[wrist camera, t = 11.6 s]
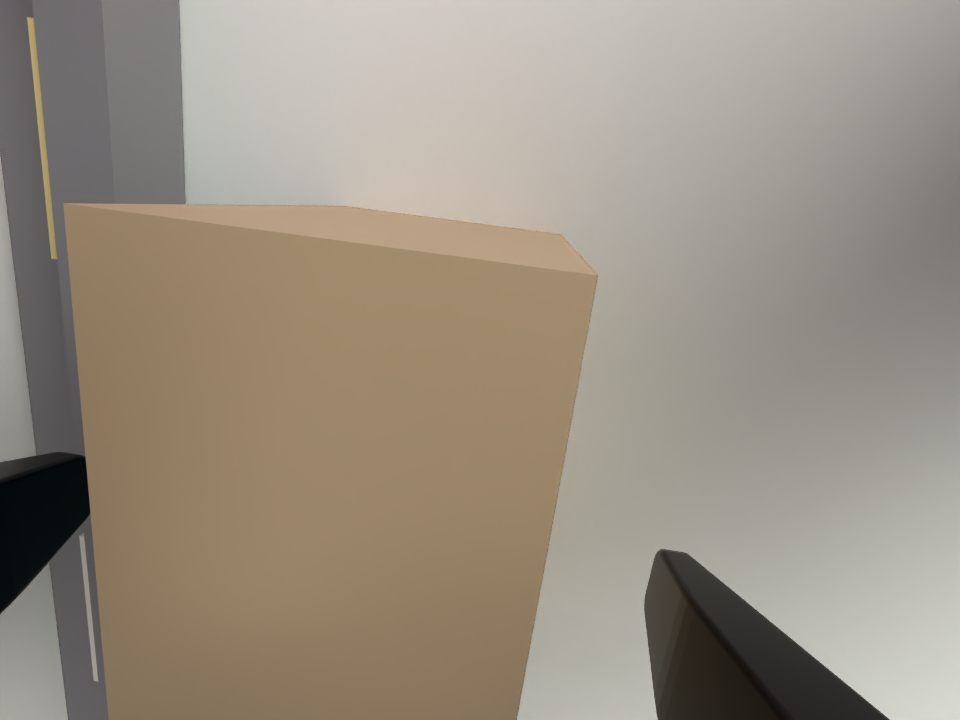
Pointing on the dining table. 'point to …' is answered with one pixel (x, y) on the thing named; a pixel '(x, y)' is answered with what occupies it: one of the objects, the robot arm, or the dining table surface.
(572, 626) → the dining table surface
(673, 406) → the dining table surface
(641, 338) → the dining table surface
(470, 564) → the carton
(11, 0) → the rail
